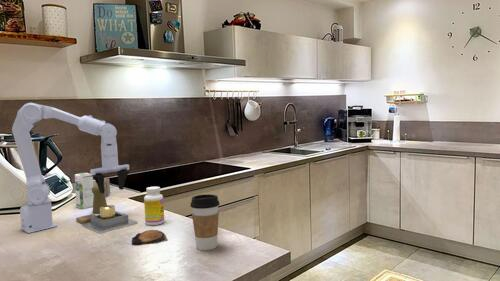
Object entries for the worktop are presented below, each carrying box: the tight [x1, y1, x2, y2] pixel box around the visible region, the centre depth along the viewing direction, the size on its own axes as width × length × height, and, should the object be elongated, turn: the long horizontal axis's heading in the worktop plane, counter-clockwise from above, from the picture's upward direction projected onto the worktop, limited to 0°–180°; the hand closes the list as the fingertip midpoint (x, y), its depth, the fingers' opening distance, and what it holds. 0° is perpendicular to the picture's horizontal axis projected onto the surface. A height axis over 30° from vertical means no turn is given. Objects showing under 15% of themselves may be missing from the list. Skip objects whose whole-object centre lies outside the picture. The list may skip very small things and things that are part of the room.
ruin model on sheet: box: [104, 177, 111, 198], centre depth 182 cm, size 11×3×10 cm, turn 13°
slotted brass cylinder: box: [99, 204, 116, 220], centre depth 132 cm, size 5×5×6 cm
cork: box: [91, 184, 108, 215], centre depth 150 cm, size 6×6×11 cm
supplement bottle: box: [143, 186, 165, 226], centre depth 132 cm, size 7×7×13 cm
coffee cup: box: [189, 193, 220, 251], centre depth 106 cm, size 8×8×15 cm
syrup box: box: [74, 172, 94, 210], centre depth 159 cm, size 6×6×14 cm
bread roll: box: [131, 229, 168, 247], centre depth 114 cm, size 11×8×4 cm
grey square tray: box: [81, 210, 139, 234], centre depth 132 cm, size 14×14×3 cm
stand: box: [75, 213, 97, 225], centre depth 137 cm, size 6×6×2 cm
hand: (111, 191), depth 140 cm, fingers open, 7 cm apart
